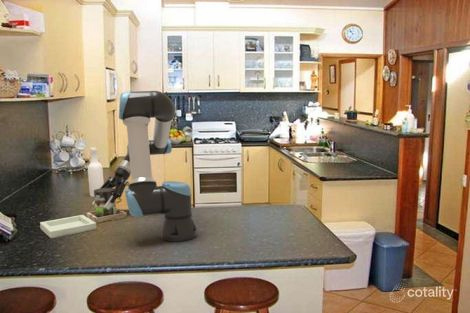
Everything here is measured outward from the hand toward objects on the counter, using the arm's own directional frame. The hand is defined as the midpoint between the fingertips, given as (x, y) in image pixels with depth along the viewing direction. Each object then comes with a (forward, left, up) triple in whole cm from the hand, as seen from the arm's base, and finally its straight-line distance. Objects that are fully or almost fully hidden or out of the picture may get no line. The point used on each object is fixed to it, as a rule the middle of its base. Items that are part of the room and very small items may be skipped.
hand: (100, 206), depth 228 cm
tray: (-7, +18, -6) cm, 20 cm away
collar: (+1, -3, -6) cm, 7 cm away
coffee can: (+1, -3, -6) cm, 7 cm away
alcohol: (+57, -17, -6) cm, 60 cm away
